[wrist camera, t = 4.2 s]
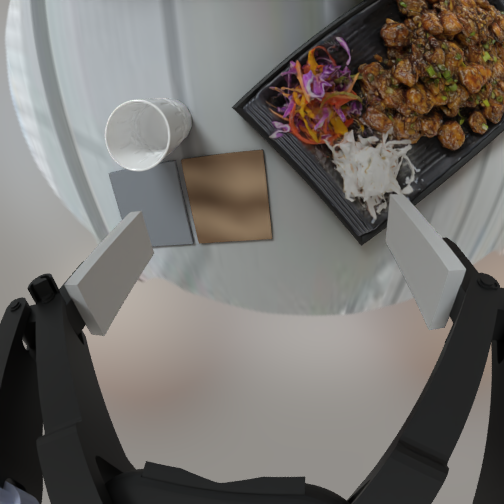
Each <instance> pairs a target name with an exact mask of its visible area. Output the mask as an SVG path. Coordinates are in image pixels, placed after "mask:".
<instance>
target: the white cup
mask: <svg viewBox="0 0 504 504" xmlns="http://www.w3.org/2000/svg"><path fill="white" fill-rule="evenodd" d="M191 127H192V121H191V114H190V112H189V110H188V109H187V107H186V106H185V105H184V104H183V103H181V102H180V101H178V100H175V99H168V98H150V99H139V100H131V101H127V102H125V103H123V104H121V105H120V106H118V107H117V108H116V109H115V110H114V111H113V112H112V114H111V115H110V117H109V119H108V121H107V124H106V128H105V142H106V146H107V149H108V152H109V153H110V155H111V157H112V158H113V159H114V161H115V162H116V163H118V164H119V165H120V166H122V167H123V168H125V169H128V170H131V171H145V170H149V169H151V168H153V167H155V166H156V165H157V164H159V163H160V162H161V161H162V160H163V159H164V158H165V157H167V156H168V155H169V154H170V153H171V152H172V151H173V150H174V149H176V148H177V147H178V146H179V145H180V143H181V142H182V141H183V140H184V139H185V138H186V137H187V136H188V134H189V132H190V129H191Z"/></svg>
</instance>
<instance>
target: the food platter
mask: <svg viewBox="0 0 504 504" xmlns="http://www.w3.org/2000/svg"><path fill="white" fill-rule="evenodd" d="M435 6H436V7H435ZM487 8H488V9H487ZM441 12H442V13H441ZM476 12H477V13H476ZM418 16H419V17H420V18H419V17H418ZM405 18H406V19H405ZM382 26H383V27H382ZM411 31H412V32H411ZM339 42H340V43H339ZM449 48H450V49H449ZM379 63H380V64H379ZM384 65H385V66H384ZM465 69H466V70H465ZM444 82H445V83H444ZM386 85H387V86H386ZM232 108H233V109H234V110H235V111H236V112H237V113H239V114H240V115H241V116H242V117H243V118H244V119H245V120H246V121H247V122H248V123H249V124H250V125H251V126H252V127H253V128H254V129H255V130H256V131H257V132H258V133H259V134H260V135H261V136H262V137H263V138H264V139H265V140H266V141H267V142H268V143H269V144H270V145H271V146H272V147H273V148H274V149H275V150H276V151H277V152H278V153H279V154H280V155H281V156H282V157H283V158H284V159H285V160H286V161H287V162H288V163H289V164H290V165H291V166H292V167H293V168H294V169H295V171H296V172H297V173H298V174H299V175H300V176H301V177H302V178H303V179H304V180H305V181H306V182H307V183H308V185H309V186H310V187H311V188H312V189H313V190H314V191H315V192H316V193H317V194H318V196H319V197H320V198H321V199H322V200H323V201H324V202H325V203H326V205H327V206H328V207H329V208H330V209H331V210H332V211H333V213H334V214H335V215H336V216H337V217H338V218H339V220H340V221H341V222H342V223H343V224H344V225H345V227H346V228H347V229H348V230H349V231H350V233H351V234H352V235H353V236H354V237H355V239H356V240H357V241H358V242H359V244H360V245H361V246H362V245H363V244H364V243H366V242H367V241H368V240H370V239H371V238H372V237H374V236H375V235H377V234H378V233H379V232H381V231H382V230H383V229H385V228H386V227H387V222H388V212H389V200H390V194H403V195H404V196H405V197H406V198H407V199H408V200H409V201H410V202H411V203H412V204H413V205H414V206H415V205H416V204H417V203H418V202H420V201H421V200H422V199H424V198H425V197H426V196H427V195H429V194H430V193H431V192H432V191H434V190H435V189H436V188H437V187H438V186H440V185H441V184H442V183H443V182H445V181H446V180H447V179H448V178H449V177H451V176H452V175H453V174H454V173H455V172H457V171H458V170H459V169H460V168H461V167H463V166H464V165H465V164H466V163H467V162H469V161H470V160H471V159H472V158H473V157H474V156H475V155H477V154H478V153H479V152H480V151H481V150H482V149H483V148H485V147H486V146H487V145H488V144H489V143H490V142H491V141H492V140H494V139H495V138H496V137H497V136H498V135H499V134H500V133H501V132H502V131H504V0H364V1H363V2H361V3H360V4H358V5H357V6H355V7H354V8H352V9H351V10H349V11H348V12H346V13H345V14H343V15H342V16H341V17H339V18H338V19H336V20H335V21H334V22H332V23H331V24H329V25H328V26H327V27H325V28H324V29H323V30H321V31H320V32H319V33H317V34H316V35H315V36H313V37H312V38H311V39H310V40H308V41H307V42H306V43H304V44H303V45H302V46H301V47H299V48H298V49H297V50H296V51H295V52H293V53H292V54H291V55H290V56H288V57H287V58H286V59H285V60H284V61H282V62H281V63H280V64H279V65H278V66H277V67H275V68H274V69H273V70H272V71H271V72H270V73H269V74H267V75H266V76H265V77H264V78H263V79H262V80H261V81H260V82H258V83H257V84H256V85H255V86H254V87H253V88H252V89H251V90H250V91H249V92H248V93H247V94H245V95H244V96H243V97H242V98H241V99H240V100H239V101H238V102H237V103H236V104H235V105H234V106H233V107H232ZM421 129H422V130H421ZM316 156H317V157H316ZM323 168H324V169H323Z"/></svg>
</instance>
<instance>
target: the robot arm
mask: <svg viewBox="0 0 504 504" xmlns="http://www.w3.org/2000/svg"><path fill="white" fill-rule="evenodd" d="M385 242H386V244H387V246H388V248H389V249H390V251H391V253H392V255H393V257H394V259H395V261H396V262H397V264H398V266H399V268H400V270H401V272H402V274H403V276H404V278H405V280H406V282H407V284H408V286H409V288H410V290H411V292H412V294H413V296H414V298H415V301H416V303H417V305H418V307H419V309H420V311H421V313H422V316H423V318H424V320H425V322H426V325H427V327H428V329H429V330H432V329H439V328H445V326H446V323H447V321H448V319H449V316H450V317H451V319H452V321H453V326H452V328H451V330H450V333H449V335H448V337H447V339H446V341H445V345H444V347H443V350H442V352H441V354H440V357H439V359H438V361H437V363H436V365H435V367H434V369H433V371H432V373H431V376H430V378H429V380H428V382H427V384H426V385H425V387H424V389H423V391H422V393H421V395H420V397H419V399H418V400H417V402H416V404H415V406H414V408H413V409H412V411H411V413H410V415H409V416H408V418H407V420H406V422H405V423H404V425H403V426H402V428H401V430H400V431H399V433H398V434H397V436H396V437H395V439H394V440H393V442H392V443H391V445H390V446H389V448H388V449H387V451H386V452H385V454H384V455H383V456H382V458H381V459H380V461H379V462H378V463H377V465H376V466H375V467H374V469H373V470H372V471H371V473H370V474H369V475H368V476H367V477H366V479H365V480H364V481H363V482H362V483H361V485H360V486H359V487H358V488H357V489H356V491H355V492H354V493H353V494H352V495H351V496H350V498H349V499H348V500H347V501H346V500H345V499H344V498H342V497H341V496H339V495H338V494H336V493H334V492H332V491H330V490H327V489H325V488H322V487H319V486H316V485H311V484H306V483H305V477H260V478H254V479H248V480H242V481H235V482H227V483H217V482H213V481H211V480H208V479H205V478H203V477H200V476H198V475H195V474H193V473H190V472H188V471H186V470H183V469H181V468H176V467H170V466H165V465H161V464H156V463H152V462H147V461H146V463H145V467H144V469H137V470H136V469H135V468H134V467H133V465H132V464H131V463H130V462H129V460H128V459H127V457H126V455H125V453H124V451H123V448H122V446H121V444H120V441H119V439H118V437H117V434H116V432H115V429H114V427H113V424H112V421H111V419H110V416H109V413H108V411H107V408H106V405H105V402H104V399H103V396H102V393H101V390H100V387H99V384H98V381H97V377H96V374H95V370H94V367H93V363H92V360H91V356H90V353H89V349H88V345H87V340H86V336H85V335H84V333H83V331H82V329H83V328H84V326H85V325H86V326H87V328H88V329H89V331H90V332H91V334H93V335H102V336H104V335H105V334H106V332H107V330H108V329H109V327H110V325H111V323H112V321H113V320H114V318H115V316H116V315H117V313H118V311H119V309H120V308H121V306H122V304H123V303H124V301H125V299H126V298H127V296H128V294H129V293H130V291H131V289H132V288H133V286H134V284H135V283H136V281H137V280H138V278H139V276H140V275H141V273H142V272H143V270H144V269H145V267H146V265H147V264H148V262H149V261H150V259H151V258H152V256H153V254H154V251H153V248H152V245H151V241H150V238H149V235H148V232H147V228H146V225H145V221H144V218H143V214H142V211H135V212H130V213H129V214H128V215H127V216H126V217H125V218H124V219H123V220H122V221H121V222H120V223H119V224H118V225H117V226H116V227H115V228H114V229H113V230H112V231H111V232H110V233H109V234H108V235H107V236H106V237H105V239H104V240H103V241H102V242H101V243H100V244H99V245H98V246H97V247H96V248H95V249H94V251H93V252H92V253H91V254H90V255H89V256H88V257H87V258H86V260H85V261H83V262H82V263H81V264H80V265H79V266H78V268H77V270H75V271H74V272H73V273H72V275H71V276H70V277H69V278H68V279H67V281H66V282H65V283H64V284H63V286H62V287H61V288H60V289H58V287H57V285H56V283H55V281H54V279H53V277H52V275H51V274H43V275H41V276H39V277H37V278H35V279H34V280H33V281H32V282H31V283H30V285H29V286H28V290H29V292H30V294H31V296H32V298H33V299H34V301H35V302H36V305H31V306H29V304H28V303H27V301H26V299H25V298H18V299H15V300H14V301H12V302H11V303H10V305H9V306H8V307H7V309H6V311H5V314H4V316H3V319H2V321H1V323H0V504H41V502H42V491H43V478H44V481H45V485H46V488H47V492H48V496H49V499H50V502H51V504H431V503H432V502H433V500H434V498H435V497H436V495H437V493H438V491H439V490H440V488H441V486H442V485H443V483H444V481H445V479H446V477H447V474H448V471H449V468H448V466H447V463H448V460H449V458H450V456H451V454H452V452H453V450H454V448H455V446H456V443H457V441H458V439H459V437H460V434H461V432H462V430H463V428H464V425H465V423H466V420H467V418H468V415H469V413H470V410H471V408H472V405H473V402H474V399H475V396H476V393H477V391H478V387H479V384H480V381H481V378H482V375H483V371H484V368H485V364H486V361H487V357H488V352H489V349H490V345H491V346H492V387H491V405H490V416H489V425H488V433H487V441H486V447H485V453H484V459H483V464H482V468H481V473H480V477H479V481H478V485H477V489H476V493H475V497H474V500H473V504H504V288H500V285H499V283H498V282H497V280H495V279H494V278H493V277H492V276H490V275H488V274H484V273H478V272H477V270H476V269H475V268H474V266H473V265H472V264H471V262H470V261H469V260H468V259H467V257H465V255H464V254H463V252H461V250H460V249H459V247H458V246H457V245H456V244H455V243H454V242H452V241H451V240H449V239H448V238H441V236H440V235H439V234H438V233H437V231H436V230H435V229H434V228H433V227H432V226H431V224H430V223H429V222H428V221H427V220H426V219H425V218H424V216H423V215H422V214H421V213H420V212H419V211H418V210H417V209H416V207H415V206H414V205H413V204H412V203H411V202H410V201H409V200H408V199H407V198H406V197H405V196H404V195H403V194H390V200H389V212H388V222H387V231H386V240H385ZM22 339H23V341H24V342H25V343H26V345H27V349H25V347H24V345H23V341H22ZM491 343H492V344H491ZM43 424H44V430H45V435H43V436H42V432H43Z"/></svg>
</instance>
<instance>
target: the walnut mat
mask: <svg viewBox="0 0 504 504" xmlns="http://www.w3.org/2000/svg"><path fill="white" fill-rule="evenodd" d="M181 163H182V168H183V172H184V177H185V182H186V187H187V192H188V196H189V201H190V206H191V210H192V215H193V219H194V224H195V228H196V232H197V237H198V241H199V243H213V242H229V241H245V240H262V239H272V231H271V221H270V211H269V201H268V192H267V182H266V173H265V164H264V155H263V150H253V151H243V152H233V153H225V154H216V155H209V156H201V157H194V158H187V159H182V160H181Z"/></svg>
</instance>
